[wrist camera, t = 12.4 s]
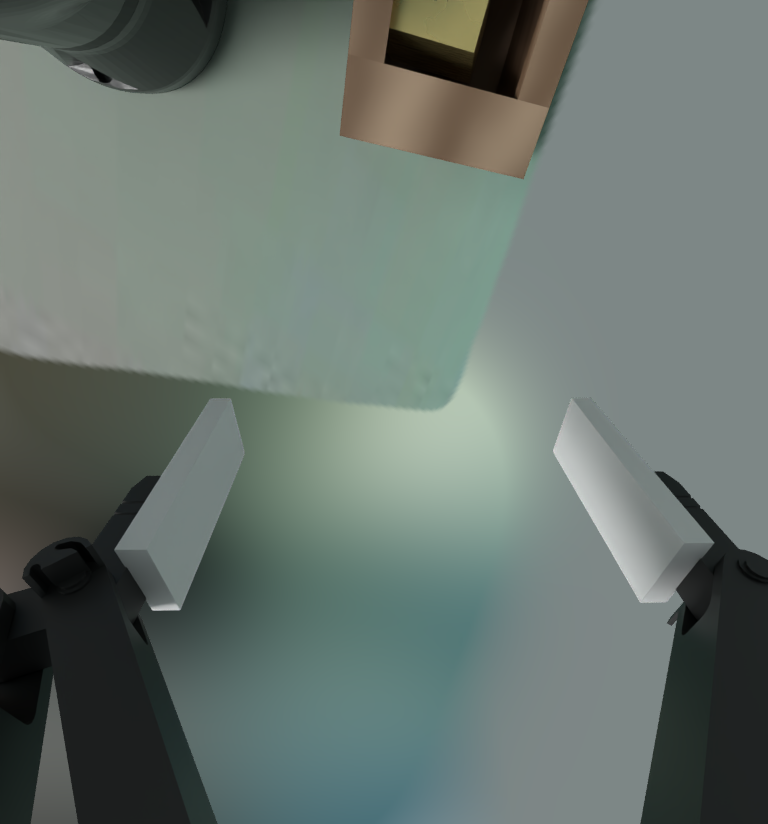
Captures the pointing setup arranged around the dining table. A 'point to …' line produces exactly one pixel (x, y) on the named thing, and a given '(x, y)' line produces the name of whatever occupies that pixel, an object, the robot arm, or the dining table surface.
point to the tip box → (461, 86)
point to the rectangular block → (438, 35)
